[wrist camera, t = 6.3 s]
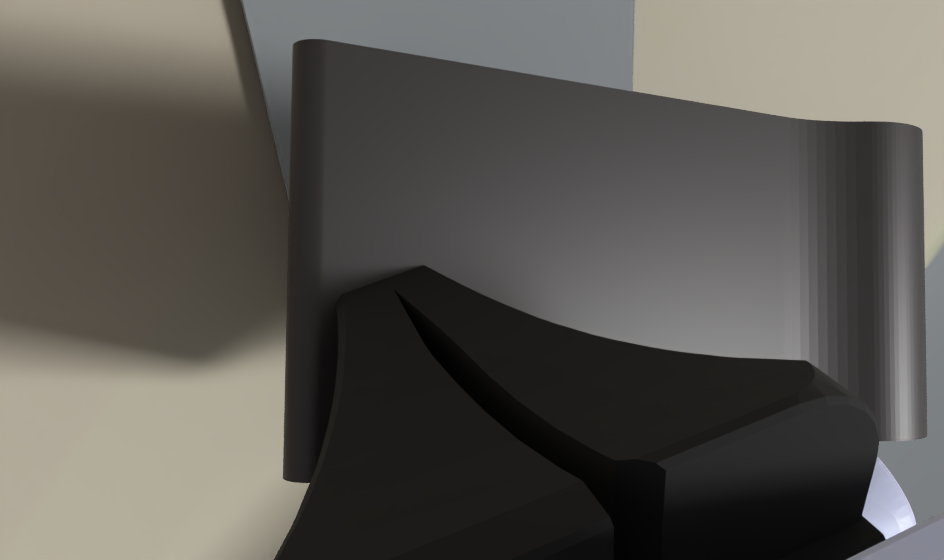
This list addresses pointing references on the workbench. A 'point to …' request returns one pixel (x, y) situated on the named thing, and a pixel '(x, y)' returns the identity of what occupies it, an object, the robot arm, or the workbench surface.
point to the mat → (445, 40)
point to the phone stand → (602, 222)
